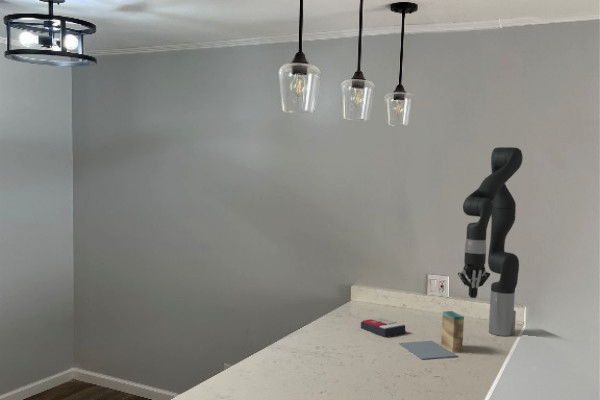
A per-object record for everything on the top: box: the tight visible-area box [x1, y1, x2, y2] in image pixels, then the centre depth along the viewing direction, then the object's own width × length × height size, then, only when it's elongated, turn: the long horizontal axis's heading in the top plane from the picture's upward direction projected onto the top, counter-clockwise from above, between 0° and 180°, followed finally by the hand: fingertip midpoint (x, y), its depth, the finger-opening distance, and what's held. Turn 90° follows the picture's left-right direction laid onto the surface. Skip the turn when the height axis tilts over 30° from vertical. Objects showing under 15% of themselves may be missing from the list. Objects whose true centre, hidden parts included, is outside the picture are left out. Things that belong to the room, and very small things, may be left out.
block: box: [440, 310, 465, 353], centre depth 220 cm, size 4×8×13 cm, turn 17°
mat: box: [398, 340, 458, 360], centre depth 218 cm, size 14×18×1 cm
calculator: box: [360, 317, 406, 338], centre depth 241 cm, size 11×4×15 cm
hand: (472, 297), depth 222 cm, fingers closed
